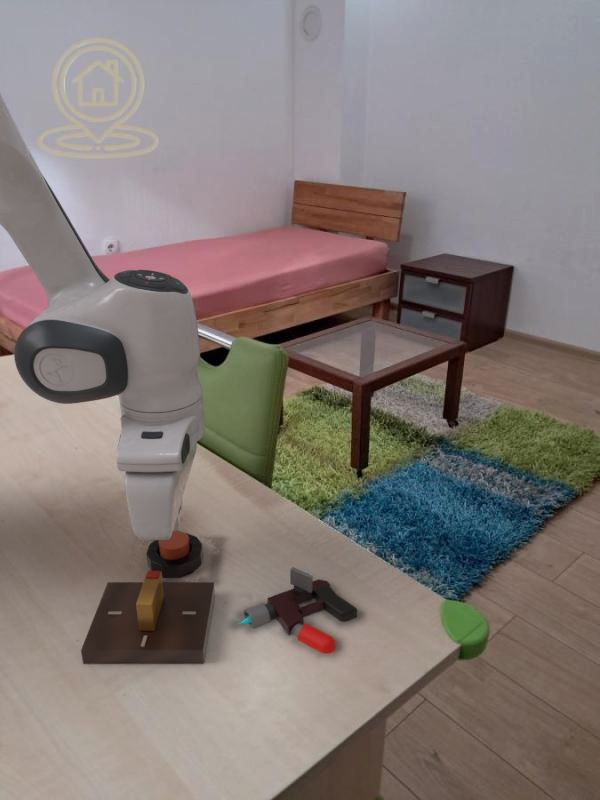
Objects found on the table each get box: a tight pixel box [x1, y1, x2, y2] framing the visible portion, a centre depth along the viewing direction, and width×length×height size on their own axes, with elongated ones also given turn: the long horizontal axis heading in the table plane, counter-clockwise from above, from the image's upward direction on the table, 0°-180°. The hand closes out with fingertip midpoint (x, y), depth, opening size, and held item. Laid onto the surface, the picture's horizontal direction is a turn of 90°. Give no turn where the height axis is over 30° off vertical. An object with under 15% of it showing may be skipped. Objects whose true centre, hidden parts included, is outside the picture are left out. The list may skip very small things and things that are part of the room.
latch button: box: [159, 530, 190, 560], centre depth 77 cm, size 4×4×2 cm
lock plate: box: [80, 581, 216, 665], centre depth 67 cm, size 12×10×3 cm
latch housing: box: [146, 532, 204, 579], centre depth 77 cm, size 10×8×3 cm
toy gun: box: [238, 566, 358, 655], centre depth 67 cm, size 10×12×5 cm
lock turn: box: [136, 570, 164, 631], centre depth 66 cm, size 5×2×4 cm, turn 0°
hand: (173, 524), depth 75 cm, fingers closed
